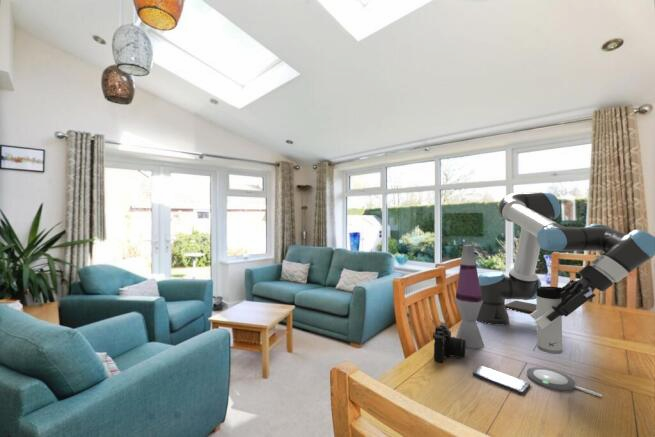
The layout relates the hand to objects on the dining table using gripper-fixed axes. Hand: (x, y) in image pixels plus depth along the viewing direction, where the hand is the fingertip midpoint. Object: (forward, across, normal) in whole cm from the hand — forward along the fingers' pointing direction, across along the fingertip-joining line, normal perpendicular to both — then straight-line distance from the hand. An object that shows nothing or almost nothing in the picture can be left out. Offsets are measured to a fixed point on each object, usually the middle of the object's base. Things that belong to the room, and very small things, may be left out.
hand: (535, 321), depth 93 cm
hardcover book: (+4, -81, +23) cm, 84 cm away
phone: (+20, +6, +5) cm, 22 cm away
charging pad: (+8, +1, +17) cm, 19 cm away
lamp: (+26, -20, -1) cm, 33 cm away
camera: (+31, -5, -6) cm, 32 cm away
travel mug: (+4, 0, +9) cm, 9 cm away
